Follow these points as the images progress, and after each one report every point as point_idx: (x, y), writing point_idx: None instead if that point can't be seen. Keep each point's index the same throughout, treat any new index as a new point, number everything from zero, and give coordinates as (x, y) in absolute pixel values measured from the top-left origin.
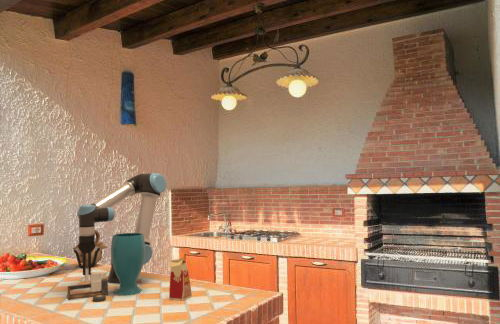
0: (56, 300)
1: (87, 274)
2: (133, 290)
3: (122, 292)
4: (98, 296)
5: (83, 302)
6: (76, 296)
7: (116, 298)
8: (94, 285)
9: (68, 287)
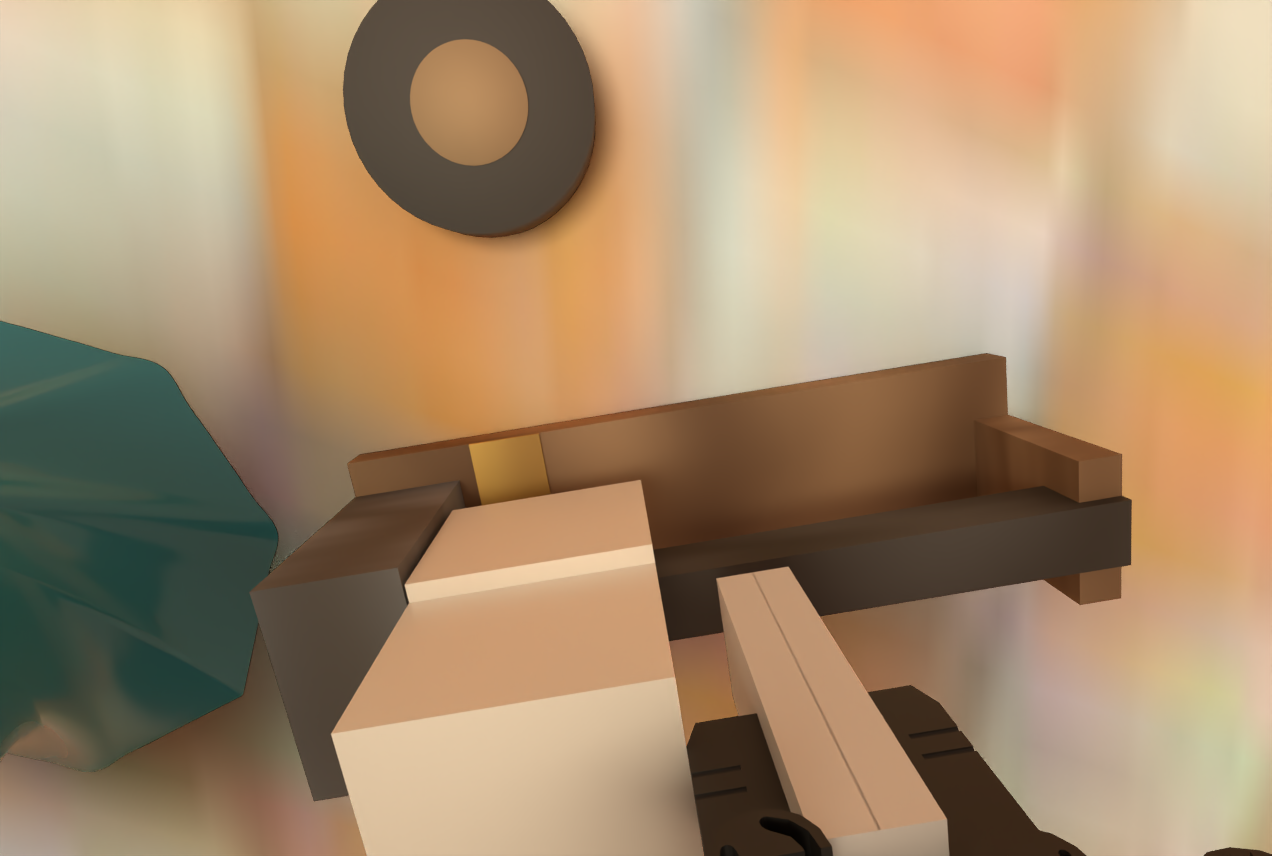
0: (1157, 391)
1: (792, 683)
2: None
3: (72, 391)
4: (484, 65)
5: (752, 76)
6: (876, 407)
7: (182, 149)
8: (576, 522)
9: (1112, 495)
